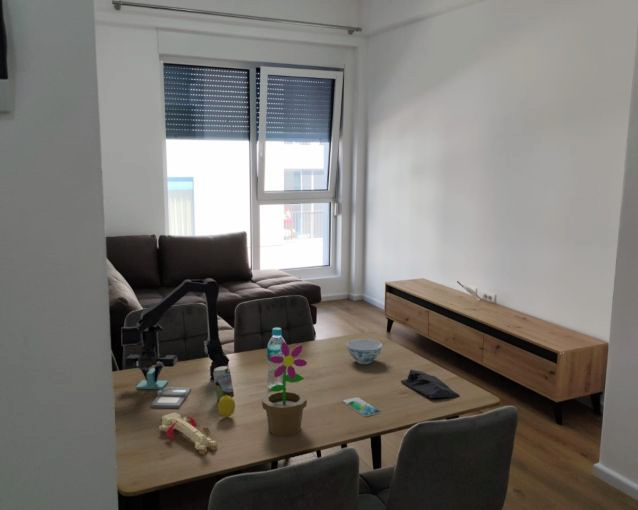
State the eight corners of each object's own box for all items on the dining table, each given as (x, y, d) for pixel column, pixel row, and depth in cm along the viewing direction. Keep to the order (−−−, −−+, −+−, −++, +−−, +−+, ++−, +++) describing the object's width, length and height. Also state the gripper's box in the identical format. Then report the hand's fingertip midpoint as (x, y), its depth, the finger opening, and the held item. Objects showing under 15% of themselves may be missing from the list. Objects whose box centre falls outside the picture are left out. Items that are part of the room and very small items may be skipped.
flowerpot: (270, 442, 174) (269, 347, 170) (256, 423, 187) (254, 334, 183) (313, 434, 180) (313, 341, 175) (297, 416, 193) (296, 329, 188)
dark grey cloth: (425, 403, 204) (426, 390, 204) (398, 381, 225) (398, 370, 224) (463, 398, 209) (463, 385, 208) (432, 377, 230) (433, 365, 229)
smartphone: (357, 396, 208) (381, 411, 196) (357, 398, 209) (381, 414, 196) (340, 399, 205) (364, 415, 192) (340, 402, 205) (364, 418, 192)
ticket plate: (191, 390, 215) (191, 383, 214) (179, 408, 199) (178, 401, 198) (164, 389, 215) (164, 383, 215) (150, 407, 199) (150, 400, 199)
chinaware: (383, 367, 239) (383, 350, 238) (347, 367, 239) (347, 349, 238) (380, 356, 254) (380, 339, 253) (346, 355, 254) (346, 338, 253)
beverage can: (230, 403, 202) (229, 371, 201) (211, 402, 204) (210, 369, 202) (236, 397, 208) (236, 365, 207) (217, 395, 210) (216, 364, 208)
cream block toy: (223, 450, 172) (178, 418, 189) (223, 424, 170) (179, 393, 188) (194, 462, 165) (151, 427, 183) (195, 435, 164) (151, 402, 181)
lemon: (227, 423, 187) (227, 399, 186) (214, 419, 190) (214, 396, 189) (238, 416, 192) (238, 394, 191) (225, 413, 195) (225, 390, 194)
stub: (167, 382, 222) (167, 368, 221) (162, 389, 215) (161, 374, 214) (142, 382, 222) (141, 367, 221) (136, 388, 216) (135, 374, 215)
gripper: (117, 349, 209) (119, 389, 211) (168, 349, 208) (170, 390, 210) (128, 339, 220) (130, 378, 222) (177, 340, 219) (178, 379, 221)
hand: (152, 382), depth 219 cm, fingers open, 3 cm apart
